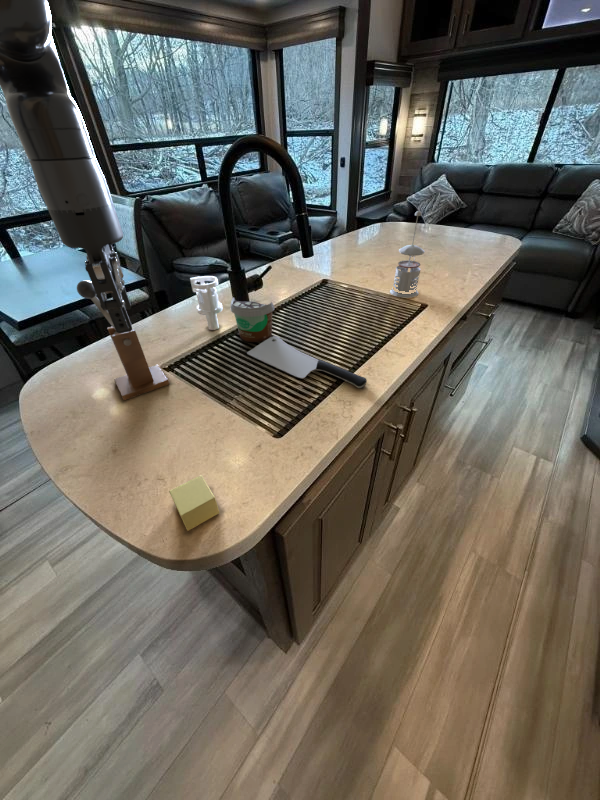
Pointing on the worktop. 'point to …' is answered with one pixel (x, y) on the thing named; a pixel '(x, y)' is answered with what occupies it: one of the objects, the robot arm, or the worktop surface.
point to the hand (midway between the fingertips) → (125, 319)
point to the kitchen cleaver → (299, 361)
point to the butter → (194, 502)
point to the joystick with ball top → (92, 297)
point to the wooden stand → (135, 366)
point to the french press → (404, 276)
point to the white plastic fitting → (207, 299)
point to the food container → (253, 320)
